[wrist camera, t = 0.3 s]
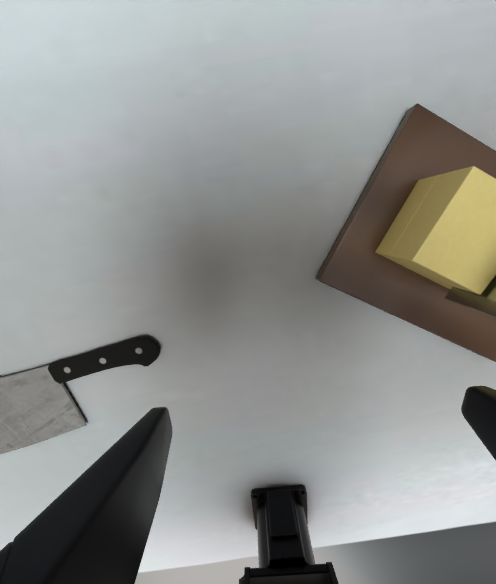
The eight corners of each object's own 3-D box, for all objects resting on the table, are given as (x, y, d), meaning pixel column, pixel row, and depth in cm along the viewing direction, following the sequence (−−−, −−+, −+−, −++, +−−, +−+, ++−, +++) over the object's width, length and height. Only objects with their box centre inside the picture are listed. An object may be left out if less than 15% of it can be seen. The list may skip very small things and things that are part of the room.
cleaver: (187, 410, 25) (151, 326, 22) (186, 414, 24) (149, 329, 21) (-58, 466, 26) (-121, 396, 24) (-64, 471, 26) (-128, 399, 23)
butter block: (461, 295, 20) (519, 314, 16) (374, 252, 19) (412, 260, 15) (509, 230, 19) (588, 232, 15) (418, 179, 18) (474, 165, 13)
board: (490, 358, 23) (500, 364, 22) (315, 278, 21) (318, 280, 20) (601, 226, 20) (620, 226, 19) (407, 109, 17) (417, 102, 16)
